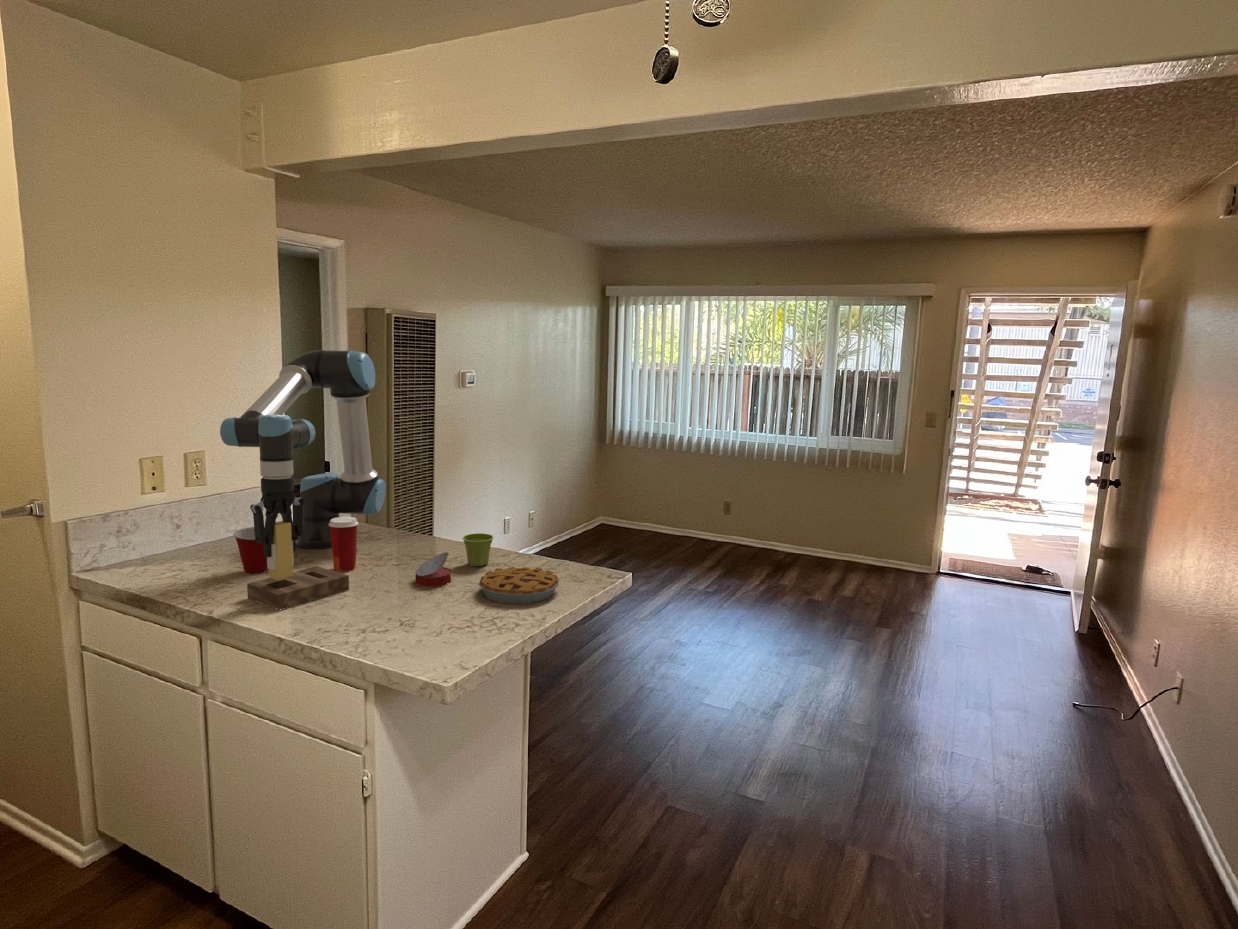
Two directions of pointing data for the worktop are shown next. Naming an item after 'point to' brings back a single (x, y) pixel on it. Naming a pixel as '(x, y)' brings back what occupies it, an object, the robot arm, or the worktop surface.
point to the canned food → (433, 572)
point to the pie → (518, 585)
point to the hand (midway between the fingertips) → (280, 566)
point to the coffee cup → (344, 542)
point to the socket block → (298, 587)
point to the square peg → (282, 551)
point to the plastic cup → (250, 551)
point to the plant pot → (478, 548)
